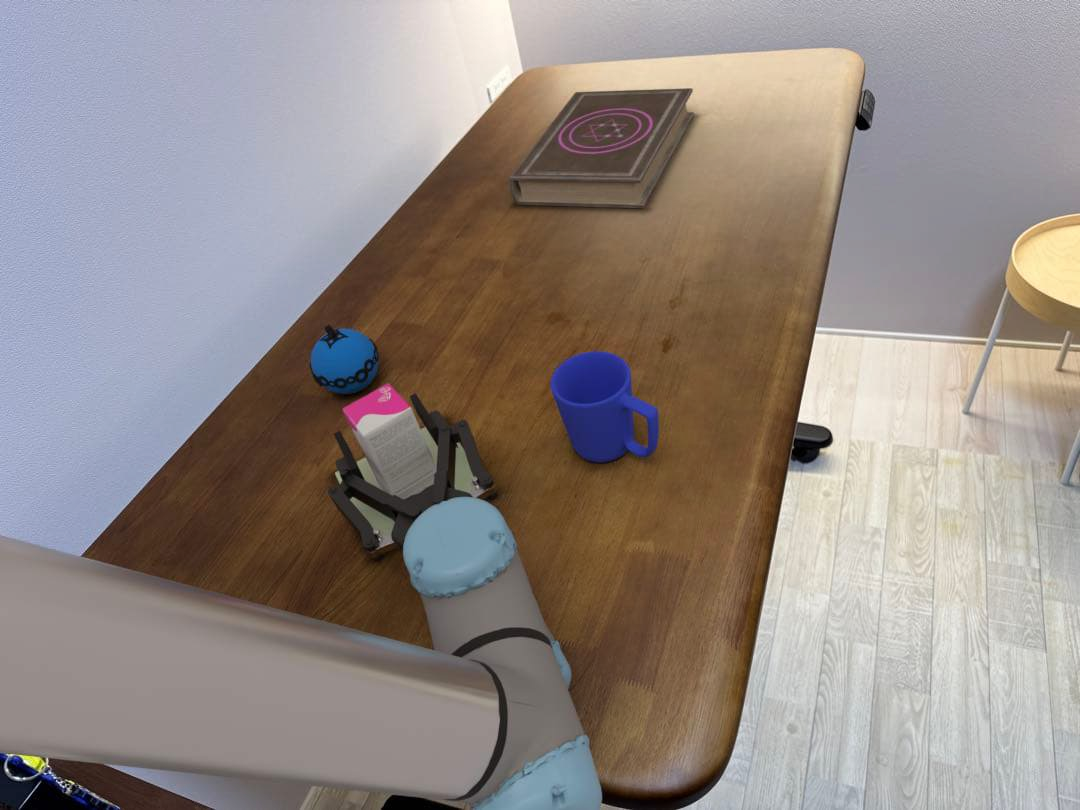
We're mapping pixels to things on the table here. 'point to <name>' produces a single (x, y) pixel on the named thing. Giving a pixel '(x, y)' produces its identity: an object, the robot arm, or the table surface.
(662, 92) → the book
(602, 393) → the mug
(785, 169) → the table surface
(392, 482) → the supplement box
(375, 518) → the pale green square tile
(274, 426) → the table surface
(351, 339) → the ornament
